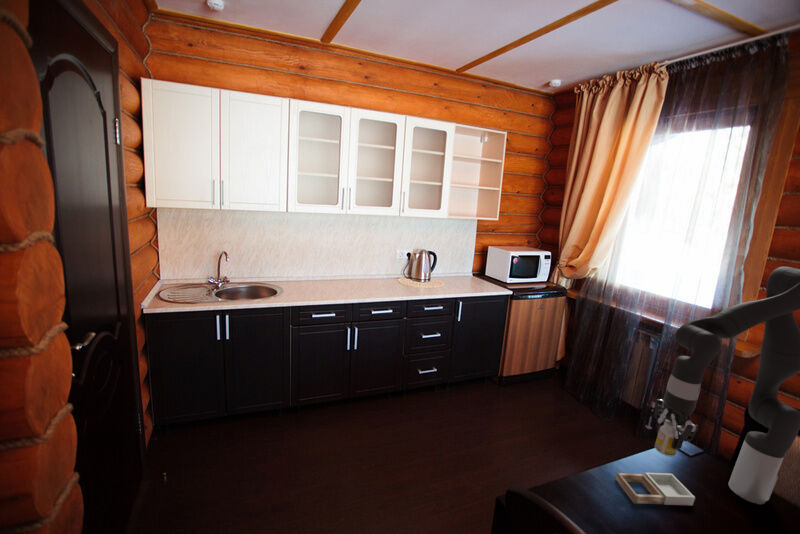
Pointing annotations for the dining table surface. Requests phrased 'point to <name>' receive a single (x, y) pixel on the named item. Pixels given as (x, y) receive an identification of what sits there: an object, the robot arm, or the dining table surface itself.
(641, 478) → the wooden frame
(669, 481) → the tray
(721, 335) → the robot arm
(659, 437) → the supplement bottle
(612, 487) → the dining table surface
